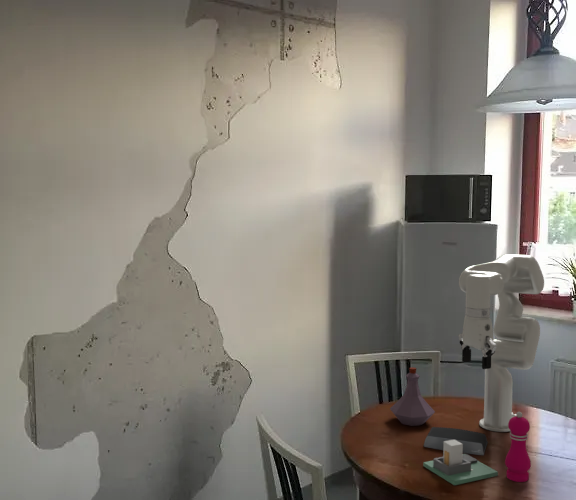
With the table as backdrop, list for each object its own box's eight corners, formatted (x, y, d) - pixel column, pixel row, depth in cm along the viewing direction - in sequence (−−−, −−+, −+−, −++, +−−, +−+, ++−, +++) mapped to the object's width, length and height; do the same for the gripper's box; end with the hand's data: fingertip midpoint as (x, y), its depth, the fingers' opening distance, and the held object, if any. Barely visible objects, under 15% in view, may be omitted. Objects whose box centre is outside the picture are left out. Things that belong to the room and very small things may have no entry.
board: (465, 457, 214) (465, 446, 214) (497, 475, 201) (498, 463, 200) (423, 466, 208) (423, 454, 208) (454, 485, 194) (454, 473, 194)
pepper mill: (500, 473, 203) (502, 408, 201) (524, 472, 203) (525, 407, 201) (510, 483, 195) (512, 416, 194) (534, 482, 196) (536, 415, 194)
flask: (387, 427, 242) (388, 372, 240) (391, 412, 258) (392, 361, 256) (434, 431, 238) (435, 375, 236) (435, 416, 254) (436, 363, 252)
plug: (454, 464, 206) (454, 439, 205) (462, 469, 202) (462, 444, 201) (441, 467, 204) (442, 441, 203) (449, 472, 200) (450, 446, 200)
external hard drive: (483, 457, 216) (483, 445, 215) (422, 448, 223) (423, 436, 223) (487, 443, 228) (488, 431, 227) (430, 435, 235) (430, 424, 235)
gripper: (505, 316, 211) (504, 370, 212) (469, 307, 226) (468, 357, 228) (486, 318, 207) (485, 372, 209) (451, 309, 223) (450, 360, 225)
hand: (476, 364), depth 218 cm, fingers open, 9 cm apart
